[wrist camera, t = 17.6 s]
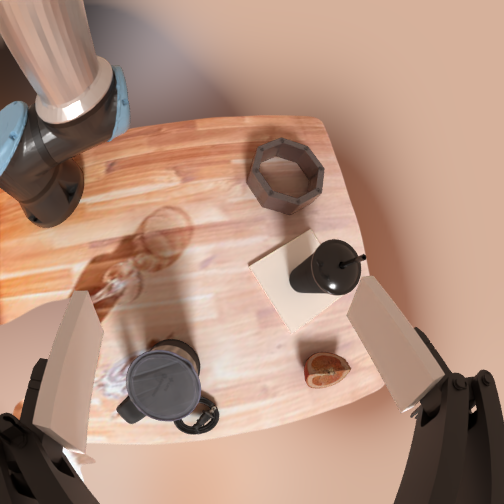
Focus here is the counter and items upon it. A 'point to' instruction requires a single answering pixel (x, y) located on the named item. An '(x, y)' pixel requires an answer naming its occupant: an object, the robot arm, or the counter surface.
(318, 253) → the drinking cup
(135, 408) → the milk frother
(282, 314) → the coaster
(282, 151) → the grey octagonal ring
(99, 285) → the counter surface
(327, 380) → the fruit slice
